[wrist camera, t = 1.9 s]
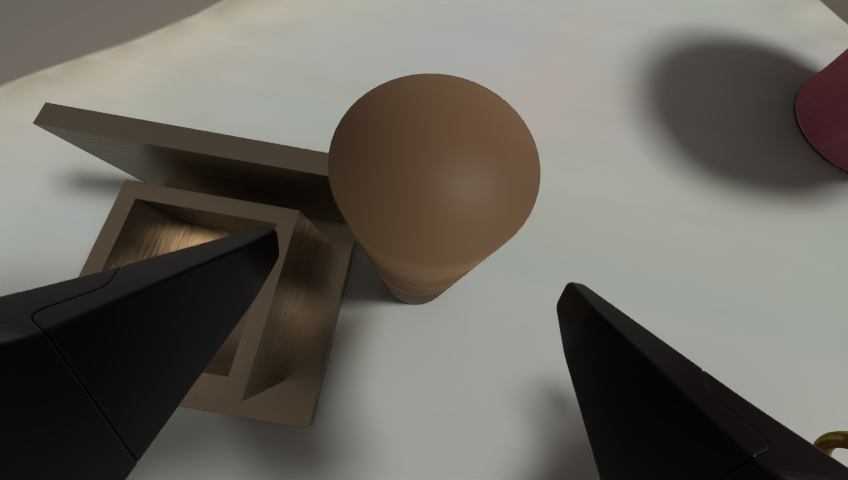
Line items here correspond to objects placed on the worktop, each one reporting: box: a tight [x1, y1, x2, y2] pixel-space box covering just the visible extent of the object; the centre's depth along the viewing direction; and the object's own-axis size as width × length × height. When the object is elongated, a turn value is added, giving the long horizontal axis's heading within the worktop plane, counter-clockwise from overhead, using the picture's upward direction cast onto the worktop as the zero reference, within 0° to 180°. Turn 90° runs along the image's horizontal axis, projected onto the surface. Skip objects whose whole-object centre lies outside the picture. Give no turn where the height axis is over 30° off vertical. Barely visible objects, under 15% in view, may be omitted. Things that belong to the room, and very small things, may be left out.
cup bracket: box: [33, 103, 357, 429], centre depth 14 cm, size 12×12×7 cm
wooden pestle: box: [328, 74, 540, 305], centre depth 12 cm, size 4×4×13 cm
